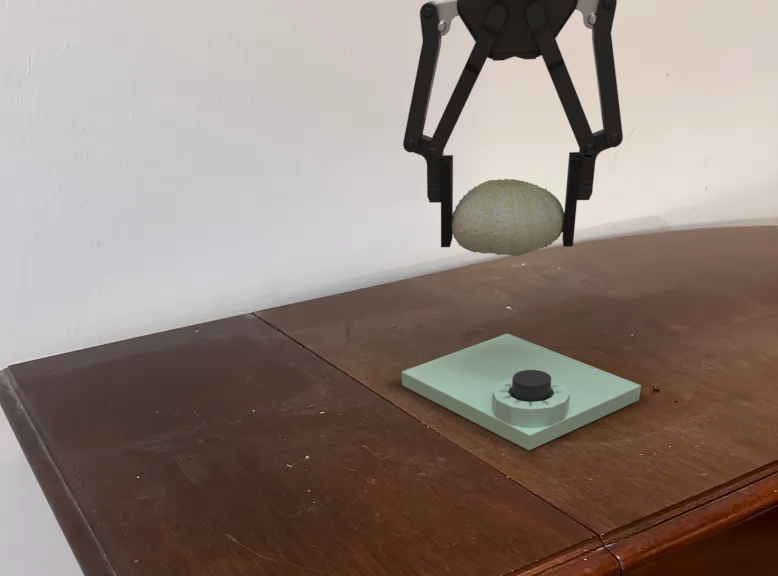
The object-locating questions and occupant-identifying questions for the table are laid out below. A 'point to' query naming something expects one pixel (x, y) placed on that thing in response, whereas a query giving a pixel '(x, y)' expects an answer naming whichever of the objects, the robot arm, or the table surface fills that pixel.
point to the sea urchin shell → (507, 218)
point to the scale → (494, 389)
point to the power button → (531, 386)
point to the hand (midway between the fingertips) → (506, 242)
